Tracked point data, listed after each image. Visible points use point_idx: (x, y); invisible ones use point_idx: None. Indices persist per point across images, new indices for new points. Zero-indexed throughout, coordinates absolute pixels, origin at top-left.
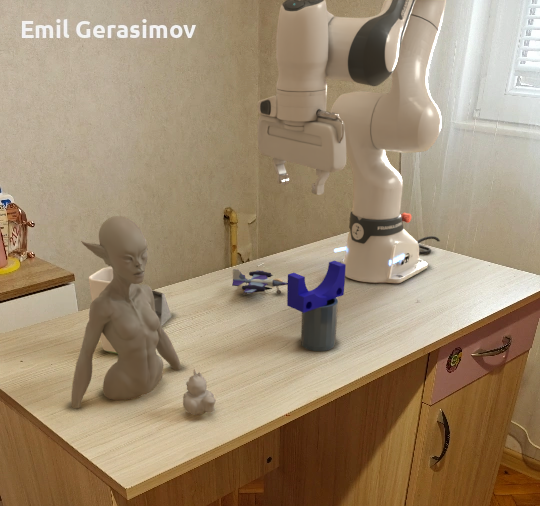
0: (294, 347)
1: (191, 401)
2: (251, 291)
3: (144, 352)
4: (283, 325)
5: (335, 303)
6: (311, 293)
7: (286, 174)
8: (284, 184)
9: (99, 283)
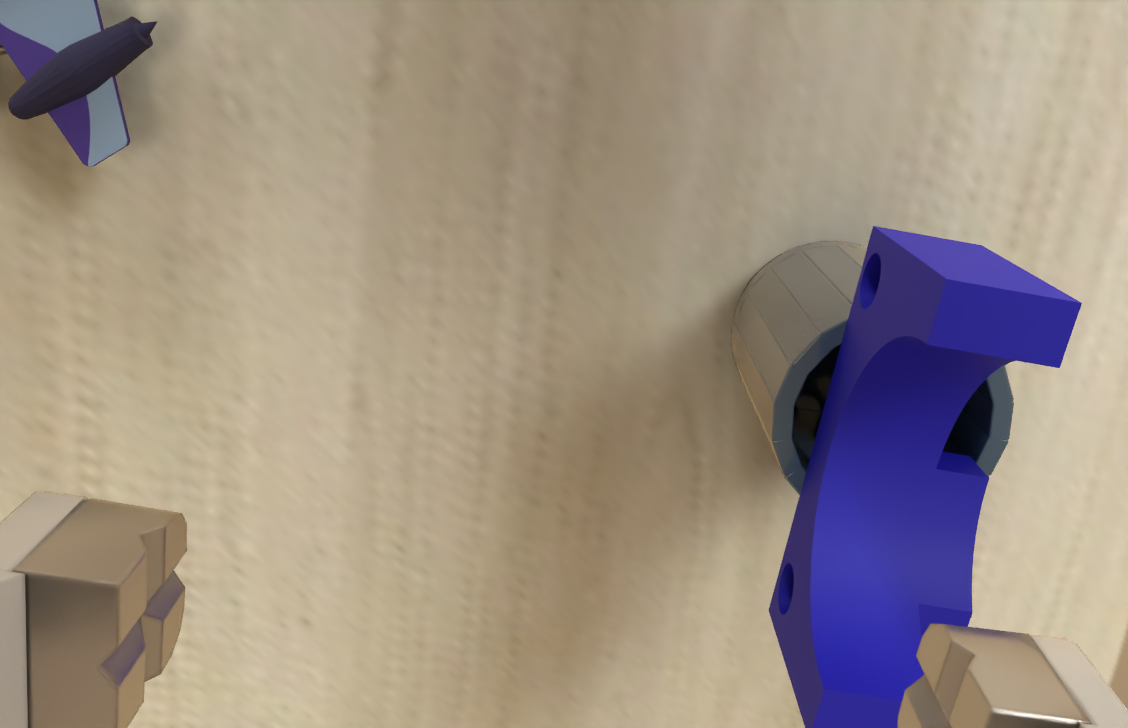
0: (746, 439)
1: None
2: (117, 131)
3: None
4: (525, 261)
5: (1007, 403)
6: (953, 620)
7: (106, 640)
8: (184, 599)
9: None
